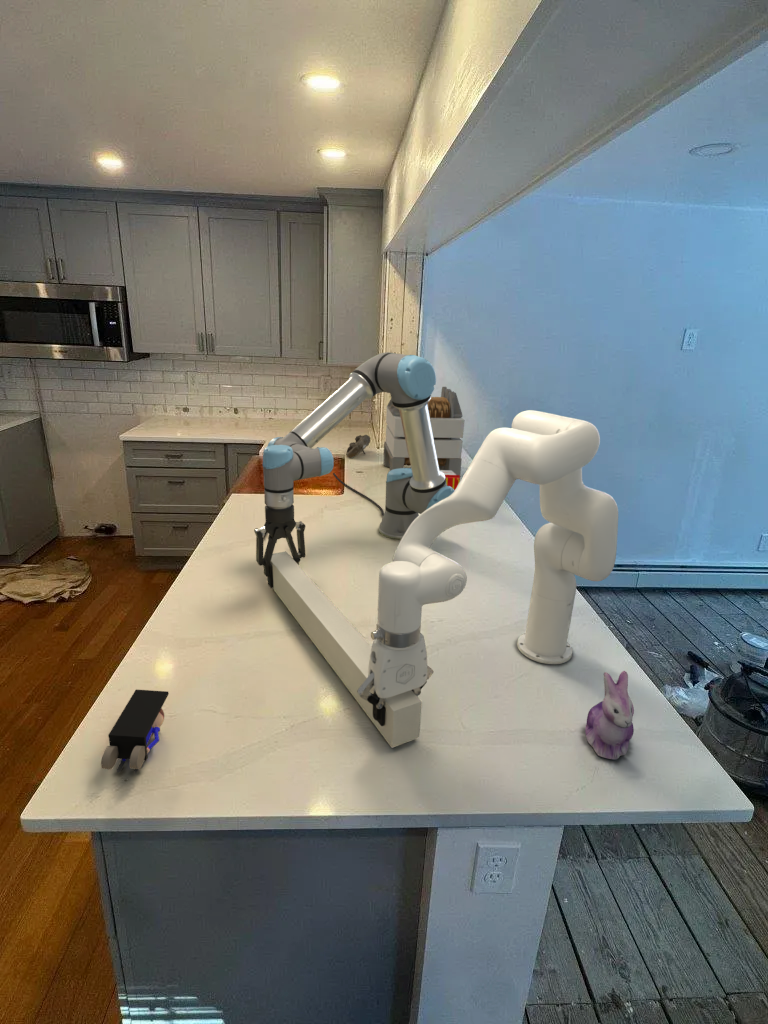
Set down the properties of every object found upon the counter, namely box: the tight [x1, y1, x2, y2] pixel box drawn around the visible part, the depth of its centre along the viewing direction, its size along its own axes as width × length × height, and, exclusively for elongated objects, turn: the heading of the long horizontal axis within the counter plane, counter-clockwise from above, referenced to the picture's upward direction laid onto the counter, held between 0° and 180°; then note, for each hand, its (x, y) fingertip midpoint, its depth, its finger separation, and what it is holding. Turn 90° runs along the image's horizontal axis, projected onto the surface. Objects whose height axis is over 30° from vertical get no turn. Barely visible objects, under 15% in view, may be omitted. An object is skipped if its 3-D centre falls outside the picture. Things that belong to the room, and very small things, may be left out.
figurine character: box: [100, 689, 169, 774], centre depth 98 cm, size 7×8×15 cm
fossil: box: [345, 434, 371, 459], centre depth 304 cm, size 22×10×15 cm
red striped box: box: [439, 470, 461, 490], centre depth 239 cm, size 12×13×30 cm
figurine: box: [584, 670, 635, 760], centre depth 103 cm, size 9×10×15 cm
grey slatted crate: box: [383, 386, 465, 476], centre depth 268 cm, size 34×33×41 cm
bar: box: [266, 550, 423, 749], centre depth 130 cm, size 71×6×8 cm, turn 29°
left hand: (282, 583), depth 156 cm, fingers closed on bar, 6 cm apart
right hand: (394, 714), depth 105 cm, fingers closed on bar, 5 cm apart
